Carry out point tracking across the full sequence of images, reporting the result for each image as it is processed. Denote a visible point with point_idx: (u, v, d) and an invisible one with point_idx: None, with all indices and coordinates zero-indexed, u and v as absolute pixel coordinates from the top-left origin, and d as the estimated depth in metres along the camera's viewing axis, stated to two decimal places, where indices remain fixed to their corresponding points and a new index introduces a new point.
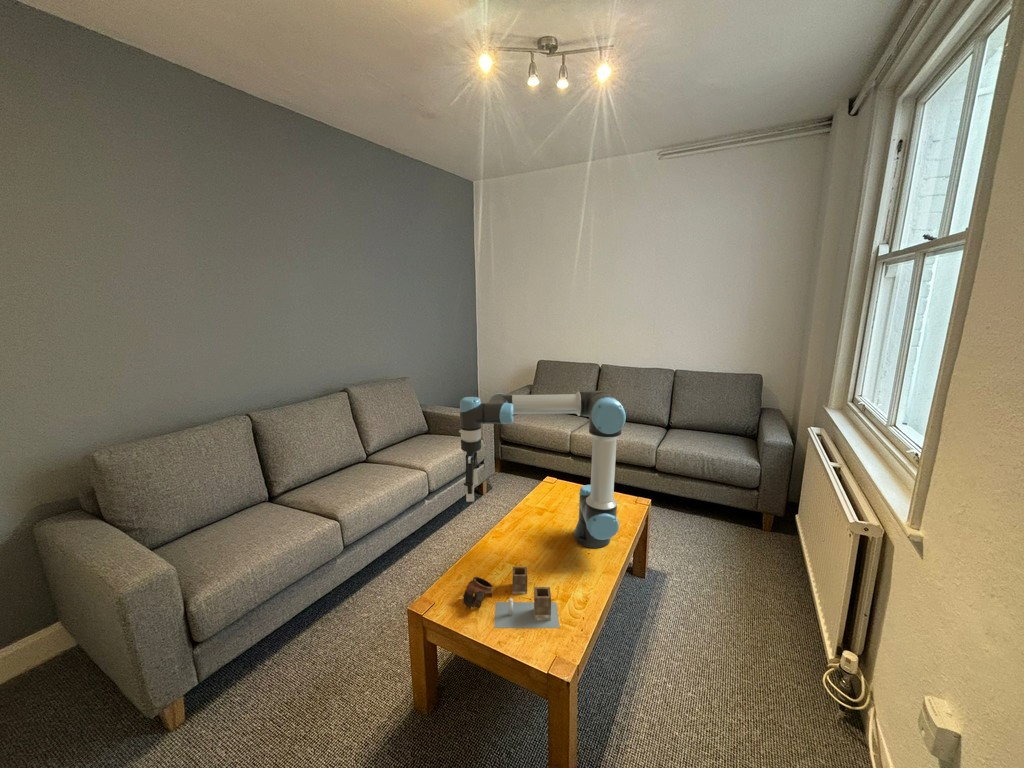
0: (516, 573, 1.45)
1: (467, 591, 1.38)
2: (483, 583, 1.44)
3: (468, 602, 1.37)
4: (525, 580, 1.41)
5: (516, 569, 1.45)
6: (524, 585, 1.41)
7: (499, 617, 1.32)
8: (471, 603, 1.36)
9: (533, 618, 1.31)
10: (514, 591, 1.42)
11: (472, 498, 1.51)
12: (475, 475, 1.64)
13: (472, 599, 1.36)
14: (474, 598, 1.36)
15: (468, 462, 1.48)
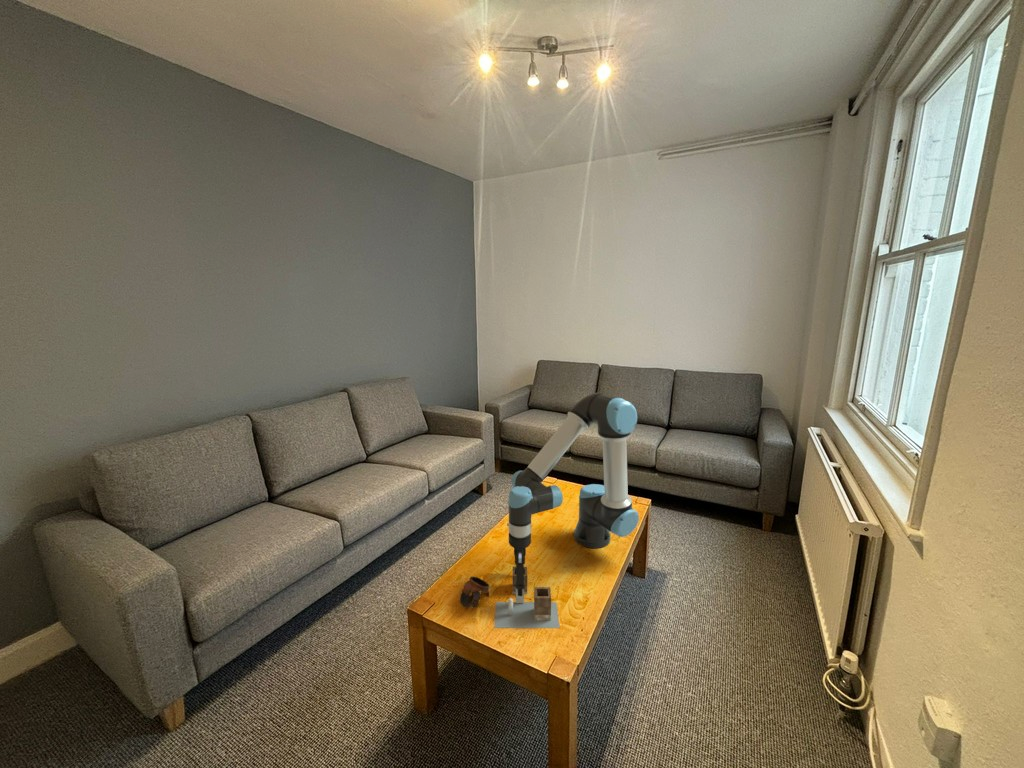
0: None
1: (464, 591, 1.39)
2: (480, 583, 1.45)
3: (465, 602, 1.37)
4: (525, 580, 1.41)
5: None
6: (524, 585, 1.41)
7: (499, 617, 1.32)
8: (468, 603, 1.37)
9: (533, 618, 1.31)
10: (514, 591, 1.42)
11: (522, 599, 1.37)
12: None
13: (469, 599, 1.37)
14: (471, 598, 1.37)
15: (519, 562, 1.35)
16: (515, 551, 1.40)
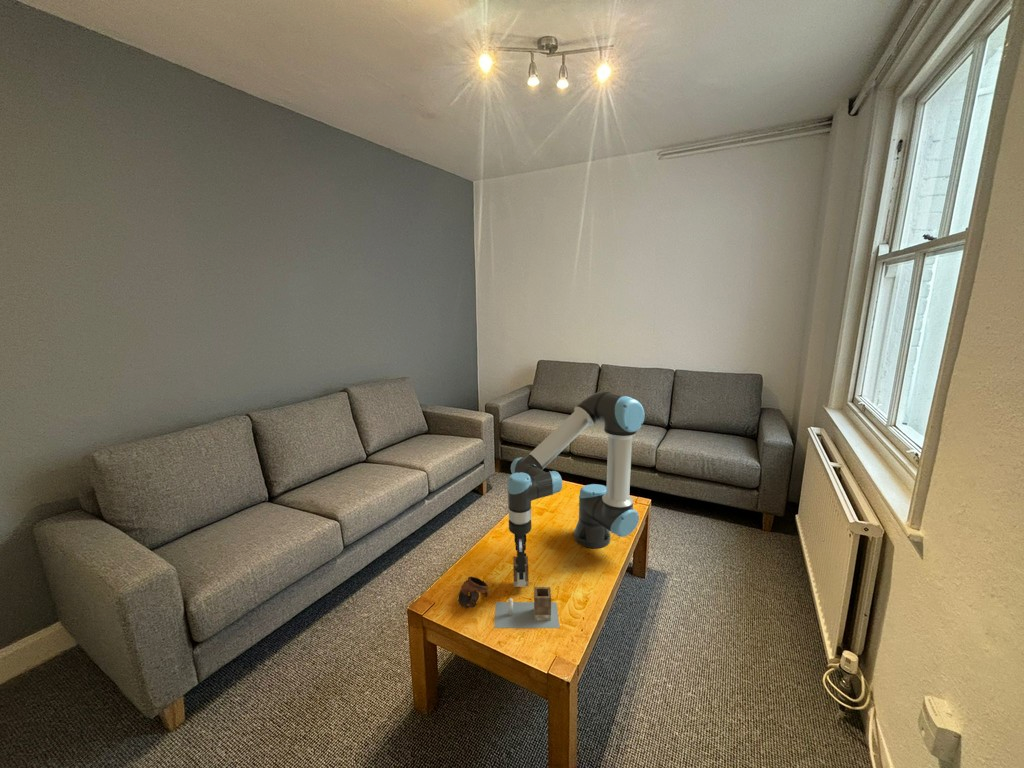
0: None
1: (462, 591, 1.39)
2: (478, 582, 1.45)
3: (463, 602, 1.37)
4: (526, 569, 1.40)
5: None
6: (525, 575, 1.41)
7: (499, 617, 1.32)
8: (466, 602, 1.37)
9: (533, 618, 1.31)
10: (515, 581, 1.41)
11: (524, 583, 1.41)
12: None
13: (467, 598, 1.37)
14: (469, 597, 1.37)
15: (519, 551, 1.35)
16: (516, 538, 1.39)
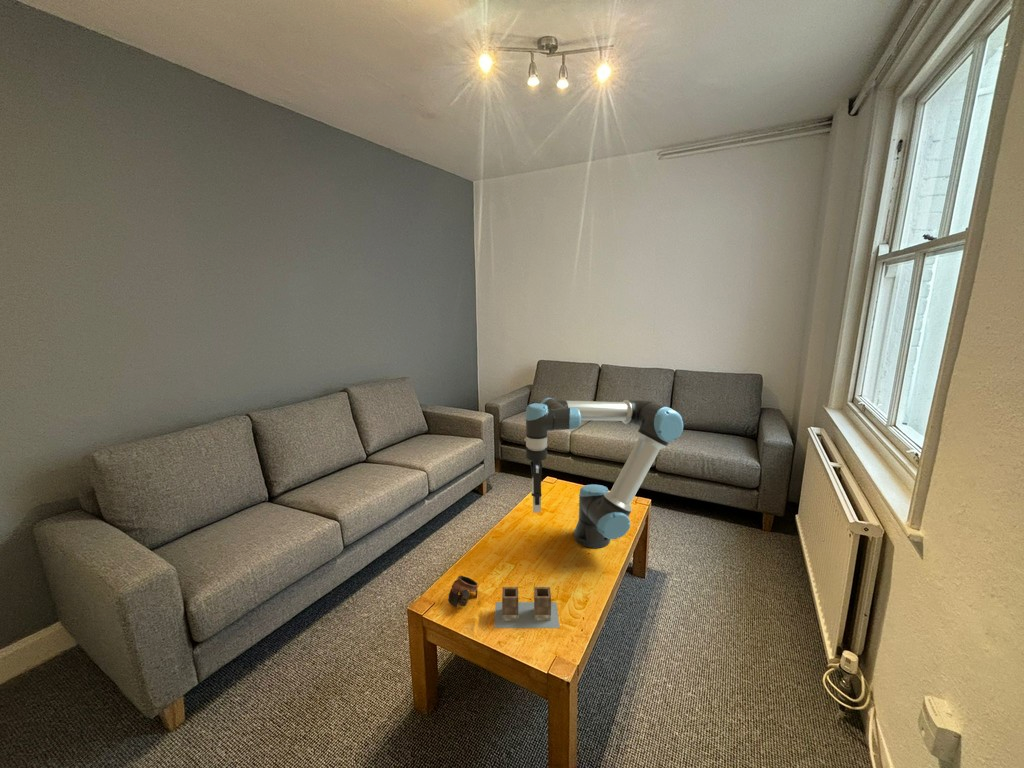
0: (506, 594, 1.33)
1: (452, 590, 1.39)
2: (468, 582, 1.45)
3: (453, 601, 1.38)
4: (516, 602, 1.29)
5: (506, 590, 1.33)
6: (515, 608, 1.29)
7: (499, 617, 1.32)
8: (457, 602, 1.37)
9: (533, 618, 1.31)
10: (504, 614, 1.30)
11: (539, 509, 1.45)
12: None
13: (458, 598, 1.37)
14: (460, 597, 1.37)
15: (536, 472, 1.42)
16: (532, 465, 1.47)
